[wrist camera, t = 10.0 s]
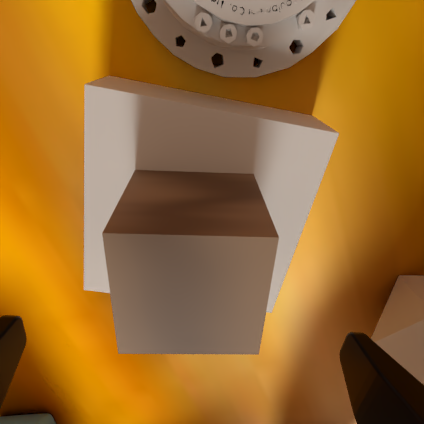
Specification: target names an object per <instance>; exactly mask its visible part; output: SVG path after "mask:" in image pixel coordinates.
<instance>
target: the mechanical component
mask: <svg viewBox="0 0 424 424" xmlns="http://www.w3.org/2000/svg"><path fill="white" fill-rule="evenodd" d="M131 1H132V3H133V5H134V7H135V10H136V12H137V13H138V15H139V16H140V17H141V19H142V20H143V21H144V23H145V24H146V26H147V27H148V28H149V30H150V31H151V33H152V34H153V35H154V36H155V37H156V38H157V39H158V40H159V41H160V42H161V43H162V44H163V45H164V46H165V47H166V48H167V49H168V50H169V51H170V52H171V53H172V54H174V55H175V56H177V57H178V58H180V59H182V60H183V61H185V62H187V63H188V64H190V65H192V66H193V67H195V68H197V69H200V70H203V71H207V72H210V73H213V74H216V75H219V76H222V77H258V76H262V75H265V74H269V73H272V72H276V71H279V70H283V69H286V68H289V67H291V66H292V65H294V64H295V63H297V62H298V61H300V60H301V59H303V58H304V57H306V56H308V55H309V54H311V53H312V52H313V51H314V50H315V49H316V48H317V47H318V46H319V45H321V44H322V43H323V42H324V41H325V40H326V39H327V38H328V37H329V36H330V35H331V34H332V33H333V32H334V31H335V30H336V29H338V27H339V25H340V24H341V22H342V21H343V19H344V18H345V16H346V15H347V13H348V12H349V10H350V9H351V7H352V6H353V4H354V3H355V1H356V0H155V2H156V3H157V6H156V9H155V12H153V13H149V12H148V10H147V7H146V4H147V3H149V2H150V1H152V0H131ZM326 15H327V18H326ZM180 36H182V37H183V38H184V39H185V41H186V42H185V44H184V46H179V45H177V38H178V37H180ZM293 41H294V42H295V44H296V45H297V47H296V49H295V51H294V53H292V52H291V50H290V48H289V47H290V45H291V43H292V42H293ZM216 53H217V54H221V55H222V64H221V65H219V66H217V67H216V66H214V65H213V63H212V60H211V57H212V56H213V55H215V54H216ZM254 57H256V58H258V65H256V66H253V63H254Z"/></svg>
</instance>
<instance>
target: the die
mask: <svg viewBox="0 0 424 424" xmlns="http://www.w3.org/2000/svg"><path fill="white" fill-rule="evenodd" d="M371 339H372V340H373V341H374V342H375V343H376V344H377V345H378V346H380V347H381V348H382V349H383V350H384V351H385V352H386V353H388V354H389V355H390V356H391V357H392V358H393V359H394V360H396V361H397V362H398V363H399V364H400V365H401V366H403V367H404V368H405V369H406V370H407V371H408V372H409V373H411V374H412V375H413V376H414V377H415V378H416V379H417V380H419V381H420V382H421V383H422V384H423V385H424V275H399V276H398V278H397V281H396V283H395V285H394V287H393V290H392V292H391V294H390V296H389V299H388V301H387V303H386V306H385V308H384V310H383V312H382V315H381V317H380V319H379V321H378V324H377V326H376V328H375V330H374V333H373V335H372V337H371Z"/></svg>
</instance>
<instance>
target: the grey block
mask: <svg viewBox="0 0 424 424" xmlns="http://www.w3.org/2000/svg"><path fill="white" fill-rule="evenodd" d="M338 135H339V133H338V132H336V131H335V130H333V129H332V128H330V127H329V126H327V125H326V124H324V123H323V122H321V121H320V120H318V119H317V118H315V117H314V116H312V115H307V114H302V113H297V112H292V111H287V110H282V109H277V108H272V107H267V106H262V105H256V104H251V103H246V102H241V101H236V100H231V99H226V98H221V97H216V96H211V95H206V94H201V93H196V92H191V91H185V90H180V89H175V88H170V87H165V86H160V85H155V84H150V83H145V82H140V81H135V80H130V79H125V78H120V77H114V76H107V77H104V78H101V79H98V80H95V81H92V82H90V83H87V84H85V129H84V290H89V291H97V292H105V293H110V288H109V280H108V273H107V265H106V258H105V251H104V243H103V236H102V232H103V231H104V229H105V227H106V225H107V223H108V221H109V219H110V217H111V215H112V213H113V211H114V209H115V208H116V206H117V204H118V202H119V200H120V198H121V196H122V194H123V192H124V190H125V188H126V186H127V184H128V183H129V181H130V179H131V177H132V175H133V173H134V171H135V170H154V171H183V172H212V173H241V174H254V176H255V179H256V181H257V184H258V186H259V189H260V191H261V194H262V196H263V199H264V201H265V204H266V206H267V209H268V211H269V214H270V216H271V219H272V221H273V224H274V226H275V229H276V231H277V234H278V236H279V241H278V246H277V252H276V258H275V264H274V269H273V275H272V281H271V287H270V292H269V298H268V304H267V309H266V312H270V313H272V310H273V307H274V305H275V302H276V299H277V297H278V294H279V291H280V289H281V286H282V283H283V281H284V278H285V275H286V273H287V270H288V268H289V265H290V262H291V260H292V257H293V254H294V252H295V249H296V246H297V244H298V241H299V238H300V236H301V233H302V230H303V228H304V225H305V223H306V220H307V217H308V215H309V212H310V209H311V207H312V204H313V201H314V199H315V196H316V193H317V191H318V188H319V185H320V183H321V180H322V178H323V175H324V172H325V170H326V167H327V164H328V162H329V159H330V156H331V154H332V151H333V148H334V146H335V143H336V140H337V138H338Z"/></svg>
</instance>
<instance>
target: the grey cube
mask: <svg viewBox="0 0 424 424" xmlns="http://www.w3.org/2000/svg"><path fill="white" fill-rule="evenodd" d="M102 236H103V243H104V251H105V258H106V265H107V273H108V280H109V288H110V295H111V303H112V310H113V317H114V325H115V332H116V340H117V347H118V353H119V354H259V349H260V344H261V338H262V332H263V327H264V321H265V315H266V309H267V304H268V298H269V292H270V287H271V281H272V275H273V269H274V264H275V258H276V252H277V246H278V241H279V236H278V234H277V231H276V229H275V226H274V224H273V221H272V219H271V216H270V214H269V211H268V209H267V206H266V204H265V201H264V199H263V196H262V194H261V191H260V189H259V186H258V184H257V181H256V179H255V176H254V174H241V173H212V172H183V171H154V170H135V171H134V173H133V175H132V177H131V179H130V181H129V183H128V184H127V186H126V188H125V190H124V192H123V194H122V196H121V198H120V200H119V202H118V204H117V206H116V208H115V209H114V211H113V213H112V215H111V217H110V219H109V221H108V223H107V225H106V227H105V229H104V231H103V232H102Z"/></svg>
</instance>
